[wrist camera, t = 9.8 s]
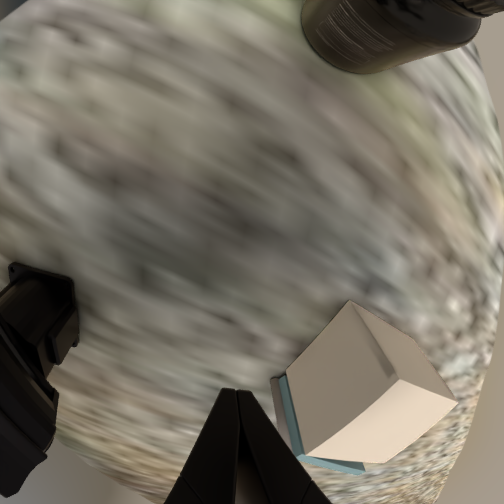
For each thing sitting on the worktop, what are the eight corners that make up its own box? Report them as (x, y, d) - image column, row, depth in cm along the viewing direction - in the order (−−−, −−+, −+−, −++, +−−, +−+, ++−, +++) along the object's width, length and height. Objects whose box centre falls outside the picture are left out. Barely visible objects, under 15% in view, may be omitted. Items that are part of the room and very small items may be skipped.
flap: (268, 381, 24) (281, 461, 16) (281, 372, 23) (298, 452, 16) (331, 415, 26) (351, 478, 19) (342, 408, 26) (365, 471, 19)
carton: (285, 370, 23) (305, 455, 16) (349, 299, 21) (399, 378, 13) (355, 395, 26) (384, 463, 18) (412, 338, 24) (458, 402, 16)
